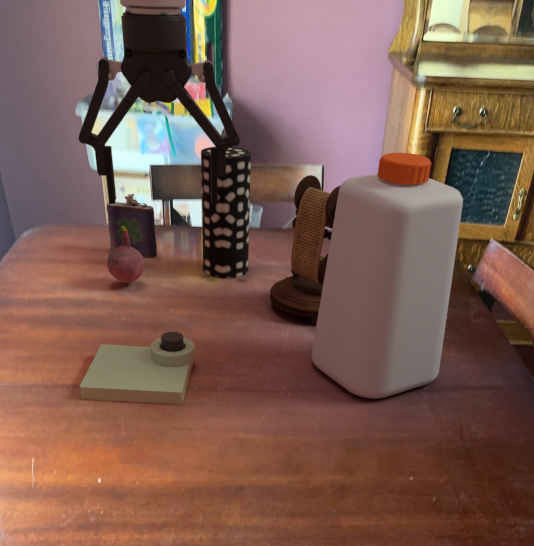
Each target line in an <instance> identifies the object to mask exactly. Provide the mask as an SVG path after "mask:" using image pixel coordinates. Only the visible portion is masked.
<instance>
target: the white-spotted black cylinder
mask: <svg viewBox="0 0 534 546" xmlns="http://www.w3.org/2000/svg"><path fill="white" fill-rule="evenodd" d="M210 147H211V146H209V147H205V148H202V149H201V150H200V175H201V176H200V179H201V184H200V185H201V230H202V232H201V236H202V237H201V238H202V239H201V240H202V241H201V242H202V270H203V272H204V274H206V275H208V276H210V277H214V278H222V279H232V278H238V277H239V278H240V277H242V276H245V275H246V274H247V273H248V272H249V254H250V253H249V248H250V244H249V243H250V209H251V208H250V206H251V167H252V165H251V164H252V163H251V162H252V152H251V150H249V149H246V148H243V147H238V146H232V147H230V148H228V149H227V151H226V174H225V176H224V177H217V188H218V205H216V204H212V201H211V152H210ZM212 147H213V148H216V146H212Z"/></svg>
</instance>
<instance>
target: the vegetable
mask: <svg viewBox="0 0 534 546" xmlns="http://www.w3.org/2000/svg"><path fill="white" fill-rule="evenodd" d="M122 228H123V229H122V231H123V242H122V245H121V246H120V247H118V248H116V249H114V250H113V251H111V252H110V253H109V254H108V256H107V259H106V266H107V270H108V272H109V273H110V275H111V276H112V277H113V278H114V279H116V280H117V281H119V282H121V283H123V285H125V286H126V285H131V284H133V282H136V281H137V280H138V279H139V278H141V276H142V275H143V273H144V272H145V269H146V262H145V258H144V257H143V256H142V255H141V253H140V252H139V251H138V250H136V249H135V248H133V247H131V245H130V240H129V235H128V231H127V229H126V228H125V226H122Z"/></svg>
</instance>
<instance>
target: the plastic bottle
mask: <svg viewBox="0 0 534 546" xmlns="http://www.w3.org/2000/svg"><path fill="white" fill-rule="evenodd" d="M431 167H432V162H431V160H430V158H428V157H427V156H424V155H420V154H416V153H409V152H388V153H385V154H383V155H382V156H381V157H380V158H379V161H378V169H377V173H372V174H371V173H370V174H364V175H358V176H353V177H350V178H347V179H345V180H344V181H343V182H342V183H341V184H340V185H341V186H340V185H339V186H340V189H339V193H338V199H337V205H336V211H335V217H334V223H333V229H331V232H332V235H331V241H330V240H329V241H330V242H329V248H328V252H327V254H328V259H327V265H326V271H325V277H324V283H323V289H322V295H321V301H320V307H319V313H318V319H317V322H316V324H315V325H316V327H315V331H314V338H313V344H312V350H311V359H312V363H313V364H314V366H315V367H316V368H317V369H318V370H320V372H322V373H324V374H325V375H326V376H328V377H329V378H330V379H332V380H333V381H335V382H336V383H337V384H338V385H340V386H341V387H342V388H344V389H345V390H347V391H348V392H349V393H351V394H352V395H355V396H358V397H361V398H365V399H383V398H388V397H392V396H394V395H398V394H401V393H404V392H407V391H410V390H414V389H418V388H420V387H424V386H426V385H429V384H431V383H433V382H434V381H435V380H436V378H437V377H438V375H439V372H440V366H441V361H442V360H441V359H442V354H443V347H444V339H445V332H446V325H447V316H448V310H449V303H450V296H451V290H452V289H451V288H452V281H453V274H454V269H455V262H456V261H455V260H456V253H457V247H458V246H457V245H458V241H459V239H458V238H459V233H460V225H461V219H462V212H463V211H462V210H463V205H464V198H463V195H462V193H461V192H460V191H459V190H458V189H457V188H454V187H452V186H451V185H448V184H446V183H443V182H441V181H438V180H435V179H432V178H430V173H431Z"/></svg>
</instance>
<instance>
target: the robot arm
mask: <svg viewBox="0 0 534 546" xmlns="http://www.w3.org/2000/svg"><path fill="white" fill-rule="evenodd" d="M119 4H120V5H121V6H122V7H124V8H125V9H124V12H122V15H121V16H120V19H121V31H122V45H123V58H122V61H121V60H120V61H119V60H115V59H114V60H112V59H109V58H108V57H106V56H102V57H101V58H100V59H99V60H98V62H97V63H98V64H97V82H96V84H95V87H94V91H93V94H92V97H91V100H90V103H89V105H88V108H87V111H86V114H85V116H84V120H83V123H82V126H81V129H80V131H79V134H78V141H79V143H81V144H82V145H83V144H84V145H88V146H90V147H92V148H93V150H94V155H95V163H96V164H95V165H96V172H97V174H98V176H100V177H101V176H103V177H104V176H105V178H106V187H107V198H108V203H109V204H115V202H117V192H116V182H115V180H116V179H115V172H114V171H115V169H114V162H113V149H112V146H111V145H106V144H107V142H108V141H109V140H110V138H111V137H112V136H113V134H114V133H115V131H116V129H117V128H118V126H119V125H120V124H121V123H122V121H123V120H124V118H125V116H126V115H127V114H128V112H129V111H130V109H131V108H132V107H133V106H134V104H135V103H136V101H137V100H138V98H139V99H140V100H141V101H143V102H145V103H151V104H152V103H156V102H161V103H163V104H172V102H175V101H176V100H178V102H179V103H180V104H181V105H182V106H183V107H184V109H186V111H187V112H188V113H189V114H190V116H191V117H192V118H193V120H194V121H195V122H196V123H197V125H198V126H199V128H200V129H201V130H202V131H203V132H204V134H205V135H206V137H208V139H209V140H210V142H211V143H212V144H213V145H214V146H209V147H210V152H211V201H212V204H216V205H218V188H217V177H224V176H225V174H226V151H227V149H228V148H230V147H238V146H239V145H240V143H241V139H240V136H239V134H238V131H237V129H236V127H235V125H234V122H233V120H232V118H231V115H230V113H229V111H228V109H227V106H226V104H225V102H224V100H223V98H222V95H221V93H220V90H219V88H218V86H217V83H216V79H215V70H214V65H213V62H212V61H211V60H210V59H205V60H204V61H202V62H194V63H191V62H190V60H189V58H188V57H189V56H188V33H187V31H188V29H187V17H185V14H182V10H183V9H185V7H187V1H186V0H119ZM119 73H121V74H122V75H123V76H122V77H124V78H125V80H126V81H127V83H128V84H129V86H130V87H129V88H128V90H127V91H126V93H125V94H124V96H123V97H122V99H121V100H120V102H119V103H118V105H117V106H116V108H115V109H114V110H113V112H112V113H111V115H110V116H109V118H108V119H107V121H106V122H105V124H104V125H103V126H102V128H101V130H100V131H99V132H98V134H96V133H93V130H94V127H95V124H96V122H97V119H98V115H99V112H100V110H101V107H102V104H103V101H104V98H105V96H106V93H107V90H108V88H109V84H110V81H114V80H115V79H116V78H117V74H119ZM192 75H195V76H196V78H197V80H198V82H199V83H202V84H205V86H206V87H205V88H206V90H207V93H208V95H209V97H210V99H211V102H212V104H213V106H214V108H215V111H216V113H217V115H218V118H219V119H220V122H221V124H222V126H223V129H224V131H225V133H226V135H224V136H222V134H221V133H220V132H219V131H218V129H217V128H216V126H214V124H213V123H212V121H211V120H210V119H209V117H208V116H207V115H206V114H205V112H204V111H203V109H201V107H200V106H199V105H198V103H197V102H196V101H195V99H194V98H193V97H192V94H191V93H190V92H189V91H188V90H187V88H186V85H187V83H188V82H189V80H190V78H191V76H192ZM213 147H216V148H213Z"/></svg>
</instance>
